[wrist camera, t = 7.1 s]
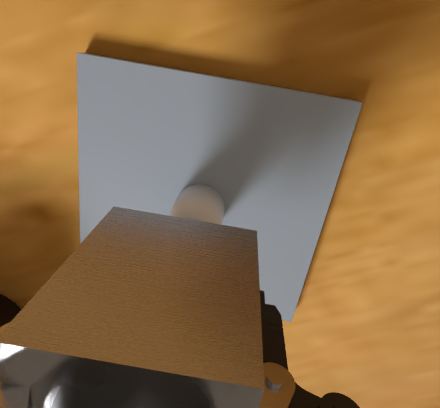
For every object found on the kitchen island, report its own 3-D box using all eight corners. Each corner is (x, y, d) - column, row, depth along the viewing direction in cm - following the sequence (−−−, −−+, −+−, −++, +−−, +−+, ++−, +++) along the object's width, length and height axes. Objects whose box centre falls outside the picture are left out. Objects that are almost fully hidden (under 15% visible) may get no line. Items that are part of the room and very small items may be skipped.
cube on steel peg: (113, 206, 14) (-7, 341, 7) (256, 230, 14) (264, 389, 7) (110, 371, 18) (30, 553, 11) (221, 390, 18) (205, 585, 11)
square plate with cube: (84, 52, 20) (28, 52, 15) (357, 100, 19) (394, 116, 14) (86, 276, 26) (48, 328, 21) (289, 312, 26) (299, 374, 21)
